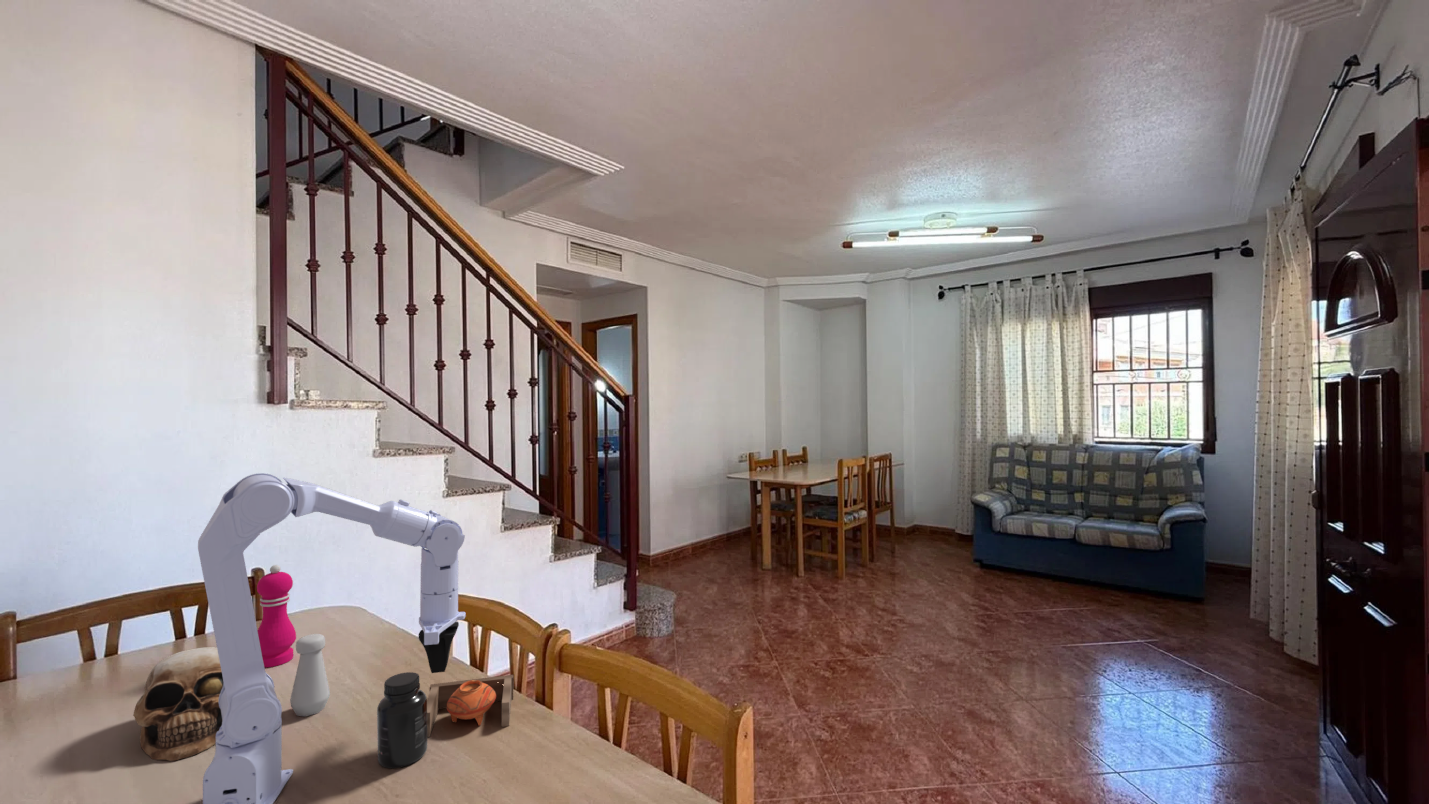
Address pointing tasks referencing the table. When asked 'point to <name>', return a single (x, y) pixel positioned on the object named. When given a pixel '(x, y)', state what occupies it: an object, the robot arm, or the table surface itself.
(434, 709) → the cradle
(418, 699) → the supplement bottle
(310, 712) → the salt shaker
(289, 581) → the pepper mill
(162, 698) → the skull
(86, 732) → the table surface
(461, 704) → the pot
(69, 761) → the table surface
